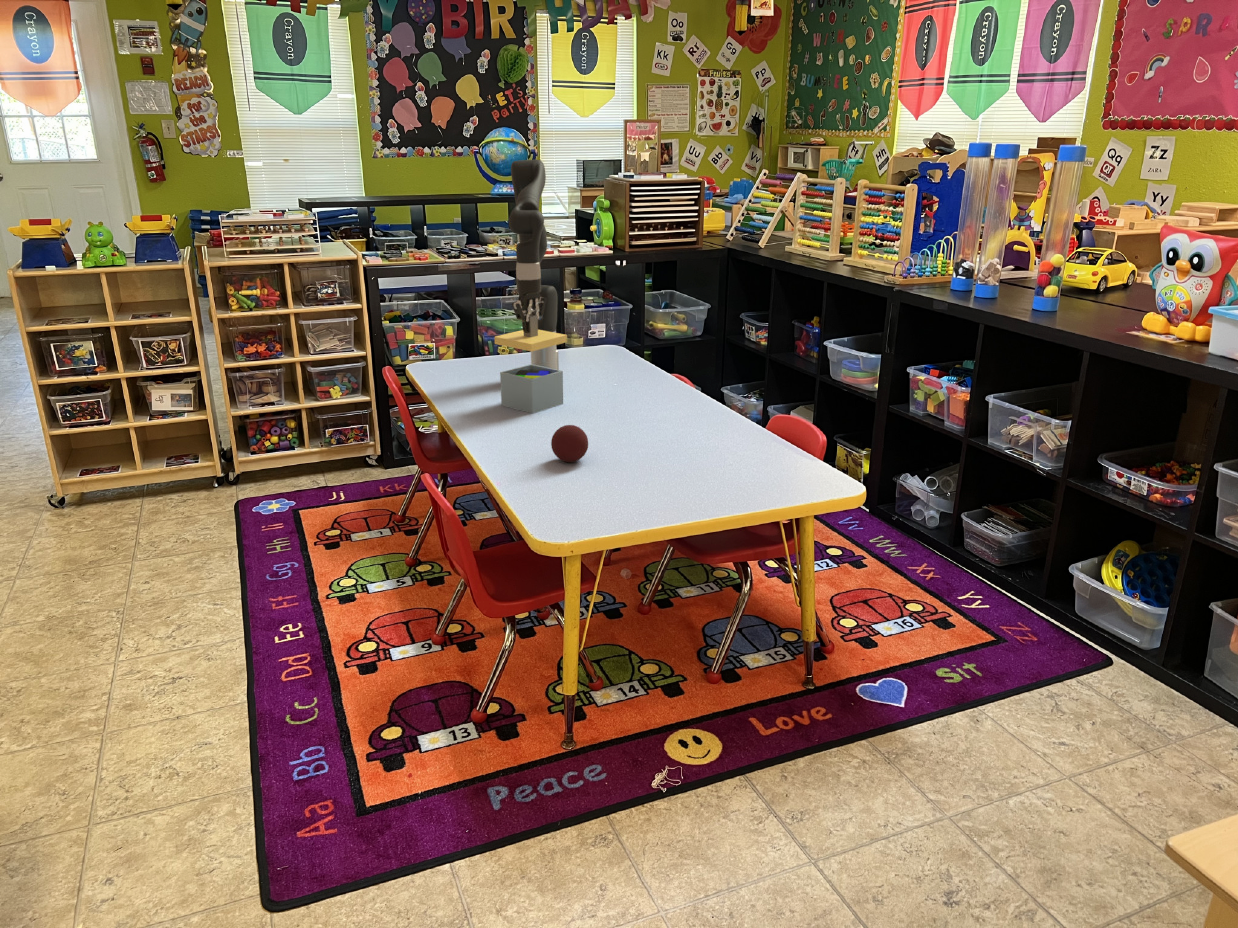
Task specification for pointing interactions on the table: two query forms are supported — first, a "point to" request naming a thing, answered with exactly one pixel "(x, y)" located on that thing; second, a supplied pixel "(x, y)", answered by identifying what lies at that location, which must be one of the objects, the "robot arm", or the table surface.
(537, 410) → the box
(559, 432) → the decorative ball
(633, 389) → the table surface
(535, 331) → the lid
